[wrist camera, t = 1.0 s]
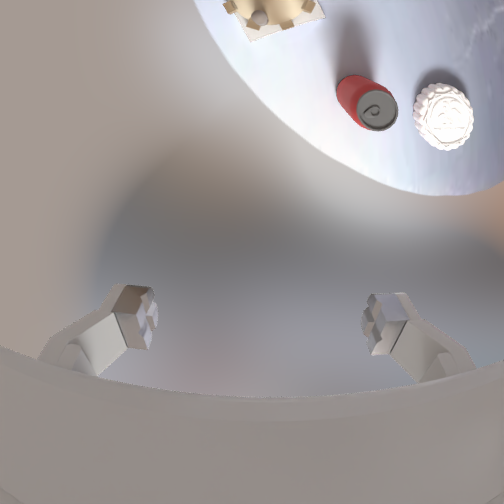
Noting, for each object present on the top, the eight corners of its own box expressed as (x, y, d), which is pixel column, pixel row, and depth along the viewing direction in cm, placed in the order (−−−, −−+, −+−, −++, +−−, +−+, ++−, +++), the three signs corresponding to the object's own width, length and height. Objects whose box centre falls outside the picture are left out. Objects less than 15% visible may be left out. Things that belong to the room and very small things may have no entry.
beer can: (328, 83, 37) (343, 96, 28) (365, 69, 34) (391, 78, 25) (345, 118, 40) (364, 142, 32) (380, 104, 38) (408, 125, 29)
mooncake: (464, 83, 31) (475, 87, 28) (465, 143, 38) (474, 150, 36) (408, 82, 34) (417, 85, 31) (413, 146, 42) (421, 154, 39)
